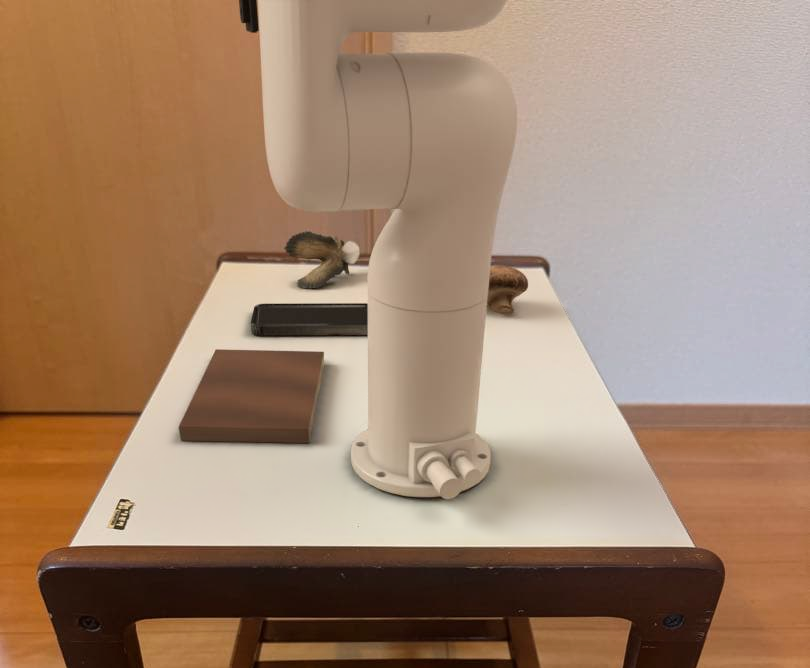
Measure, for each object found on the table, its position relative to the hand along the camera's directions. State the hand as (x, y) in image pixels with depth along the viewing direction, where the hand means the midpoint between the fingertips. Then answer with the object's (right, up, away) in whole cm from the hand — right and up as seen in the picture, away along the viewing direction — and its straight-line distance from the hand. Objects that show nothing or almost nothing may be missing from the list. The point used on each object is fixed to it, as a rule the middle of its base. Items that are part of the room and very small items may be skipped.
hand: (295, 31), depth 87 cm
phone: (+1, -30, +10) cm, 32 cm away
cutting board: (-3, -42, -7) cm, 43 cm away
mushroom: (+24, -26, +16) cm, 39 cm away
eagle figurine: (+1, -20, +24) cm, 31 cm away
